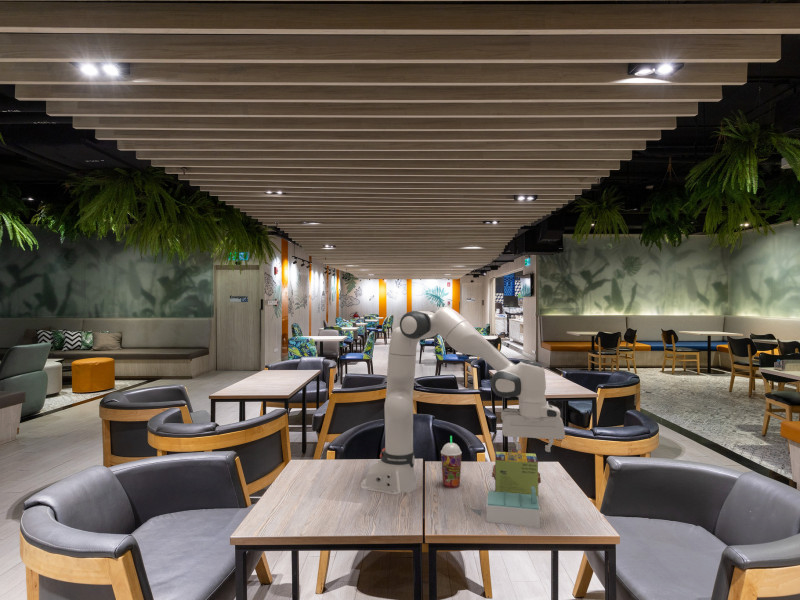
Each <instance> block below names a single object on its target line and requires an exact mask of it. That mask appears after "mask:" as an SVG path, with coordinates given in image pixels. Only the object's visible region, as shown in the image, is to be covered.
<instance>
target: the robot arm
mask: <svg viewBox="0 0 800 600" xmlns="http://www.w3.org/2000/svg"><path fill="white" fill-rule="evenodd" d="M438 336H440V337H441V338H442V339H443V340H444V342H446V343H447V344H448V345H449V347H451V349H453V350H455V351H456V352H457V353H459V354H462V355H467V356H468V355H470V356H474V357H477V358H480V359H481V360H484V361H485V362H486V363H487V364H488V365H489V366H491V368H493V370H495V371H496V372H495V373H494V374H493V375H492V376H491V379H490V386H491V389H492V391H493V393H494V394H495V395H496V396H498V397H500V398H506V399H507V398H515V397H517V398H518V408H505V409H503V410H502V411H501V412H500V419H501V421H502V428H501V430H502V433H501V434H502V435H503V437H509V438H510V437H512V441H513V442H514V444H515V447H516V450H515V451H522V448H521V447H522V443H519V442H518V438H530V439H531V438H533V439H548V444H545V446H544V447H545V448H544V450H545V452H546V453H551V447H552V446H553V444H554V443H555V440H563V439H564V438H566V437H565V435H566V430H565V425H564V421H563V419H562V418H561V411H560V409H559V408H558V406H554V405H551V404H548V403H547V398H546V389H547V385H546V384H547V382H546V381H547V380H546V372H545V368H544V366H543V365H542V363H540V362H537V361H535V360H528V359H526V360H525V359H524V360H521V361H520V362H519V363H515V362H513V361H512V360H510V358H508V357H507V356H506V355H505V354H504V353H503V352H502V351H500V350H499V349H498V348H497V347H495V345H493V344H492V343H491V342H490V341H488V340H487V339H486V338H485V336H483V335H482V334H481V333H480V332H479V331H478V330H477V329H476V328H475V327H474V326H473V325H472V324H471V323H470V322H469V321H468V320H467V319H466V318H465V317H464V316H463V315H461V314H460V313H459V312H458V311H456V310H455V309H453V308H452V307H450V306H442V307H440V308H438V309H437V310H436V311H433V310H432V311H431V310H430V311H429V310H411V311H409V312H406V313H405V314H403V315H402V317H401V318H400V321H399V326H396V327H395V328H393V330H392V333H391V337H390V340H389V345H388V356H387V357H388V358H387V373H386V393H385V401H384V407H383V408H384V431H385V432H384V433H385V436H384V437H385V438H384V440H385V442H384V444H385V445H384V447H383V448H382V449H381V451H380V455H379V458H380V459H379V460H378V461H377V462H375V463H374V464H373V465H372V466H370V468H369V469H368V470H367V473H366V478H365V477H364V479H363V480H362V481H361V482H360V488H361V489H363V490H368V491H374V492H377V493H378V492H379V493H383V494H389V495H395V496H396V495H399V494H404V493H409V492H412V491H415V490H416V489H417V488H418V483H417V479H416V475H415V468H414V466H415V462H416V461H415V460H416V459H415V450H414V402H413V401H414V399H413V397H414V387H415V386H414V385H415V375H416V361H417V347H418V343H419V342H420V341H421V340H429V339H432V338H436V337H438Z"/></svg>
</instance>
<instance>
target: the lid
mask: <svg viewBox="0 0 800 600" xmlns="http://www.w3.org/2000/svg"><path fill="white" fill-rule="evenodd" d="M487 495H488V502H487V501H486V505H490V506H501V507H512V508H523V509H533V510H539V508H540V505H539V506H538V502H539V499H538V500H537V495H536V491H535V487H533V486H531V495H530V494H521V493H519V494H518V493H506V492H505V491H504V492H495V491H491V490H488V492H487Z"/></svg>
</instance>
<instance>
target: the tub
mask: <svg viewBox="0 0 800 600" xmlns="http://www.w3.org/2000/svg"><path fill="white" fill-rule="evenodd" d="M486 496H487V497H486V503H487V502H488V494H487V495H486ZM537 500H538V506H539V510H533V509H523V508H512V507H501V506H490V505H487V504H485V505H486V509H485V510H486V522H487V523H492V524H493V523H494V524H500V523H501V525H502V524H503V525H509V524H510V526H517V525H519V526H518V527H527V528H534V529H535V528H536V529H541V508H540V502H539V496H538V497H537Z"/></svg>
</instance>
